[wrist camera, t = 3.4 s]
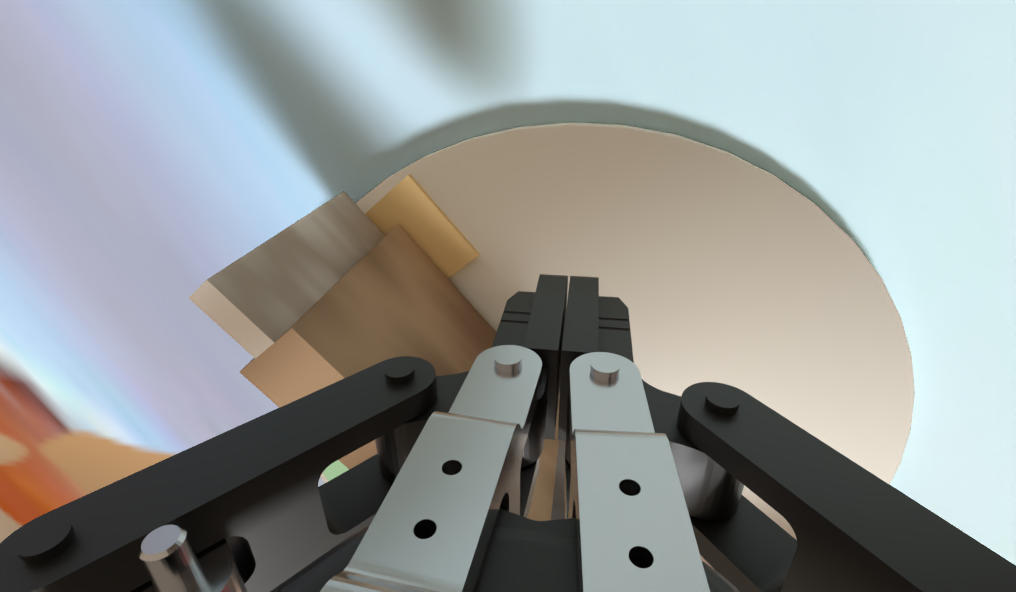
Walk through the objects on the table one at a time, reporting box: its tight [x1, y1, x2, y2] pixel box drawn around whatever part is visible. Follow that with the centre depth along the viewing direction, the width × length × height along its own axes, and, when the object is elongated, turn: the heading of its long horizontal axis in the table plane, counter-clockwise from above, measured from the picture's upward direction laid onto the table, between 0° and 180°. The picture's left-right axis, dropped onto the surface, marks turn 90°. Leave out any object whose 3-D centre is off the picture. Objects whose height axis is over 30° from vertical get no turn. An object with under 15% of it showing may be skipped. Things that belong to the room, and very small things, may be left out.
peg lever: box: [189, 191, 566, 521], centre depth 17 cm, size 15×4×8 cm, turn 41°
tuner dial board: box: [320, 122, 914, 569], centre depth 22 cm, size 25×25×1 cm
